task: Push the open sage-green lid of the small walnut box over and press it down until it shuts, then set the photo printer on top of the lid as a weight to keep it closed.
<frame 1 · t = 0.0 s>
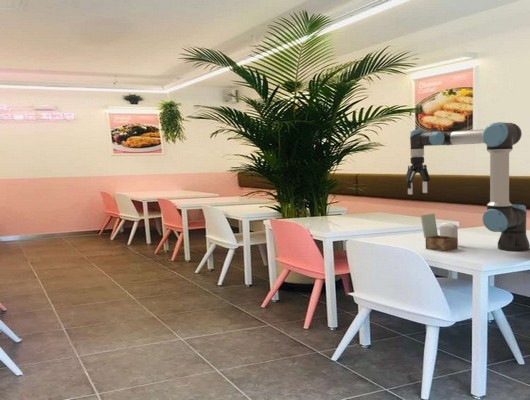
hand: (417, 193, 292), 28 cm above the table, fingers open, 13 cm apart
box carcass: (441, 248, 269), on the table
lid: (429, 225, 274), point 12 cm above the table, hinge at 100.0°
photo printer: (448, 245, 280), on the table
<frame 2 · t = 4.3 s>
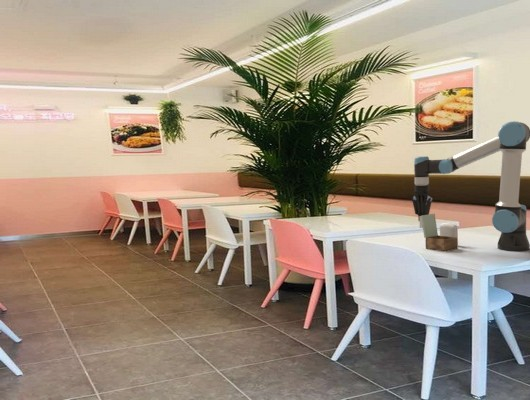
hand: (422, 227, 278), 10 cm above the table, fingers closed
lid: (429, 225, 274), point 12 cm above the table, hinge at 99.4°, touching gripper
everything else where it was.
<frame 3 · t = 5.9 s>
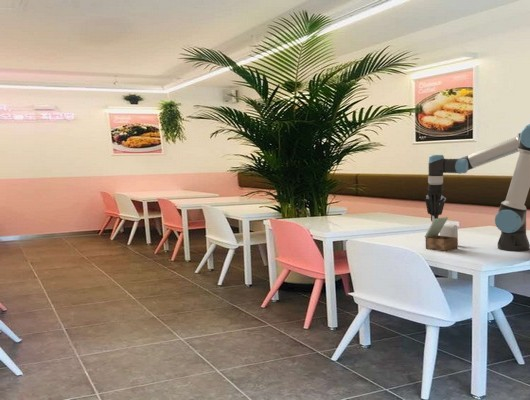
hand: (434, 227, 272), 11 cm above the table, fingers closed
lid: (436, 227, 271), point 11 cm above the table, hinge at 57.6°, touching gripper
everything else where it was.
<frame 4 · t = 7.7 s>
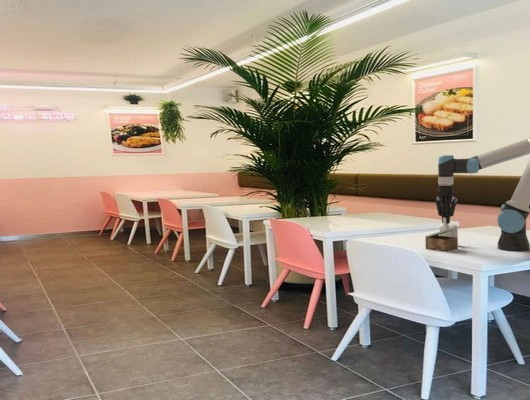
hand: (445, 229, 266), 11 cm above the table, fingers closed
lid: (440, 232, 269), point 8 cm above the table, hinge at 20.5°, touching box carcass, gripper
everything else where it was.
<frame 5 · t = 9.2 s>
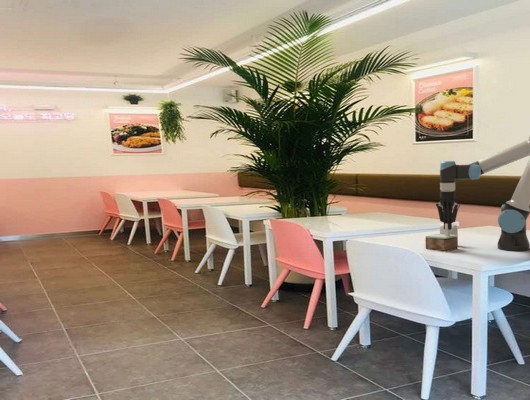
hand: (447, 235, 266), 7 cm above the table, fingers closed
lid: (441, 236, 269), point 7 cm above the table, hinge at 2.6°, touching box carcass, gripper
everything else where it was.
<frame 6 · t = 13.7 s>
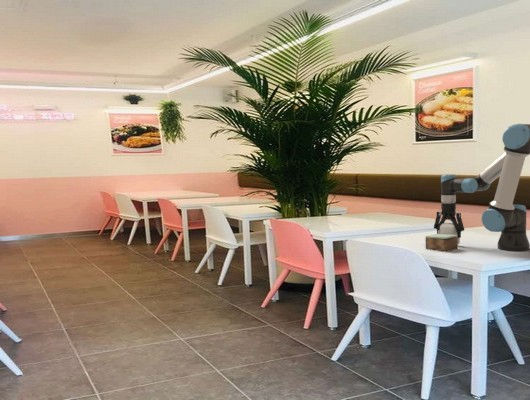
hand: (448, 242, 280), 1 cm above the table, fingers closed on photo printer, 10 cm apart
lid: (441, 236, 269), point 7 cm above the table, hinge at 2.6°
photo printer: (448, 245, 280), on the table, touching gripper
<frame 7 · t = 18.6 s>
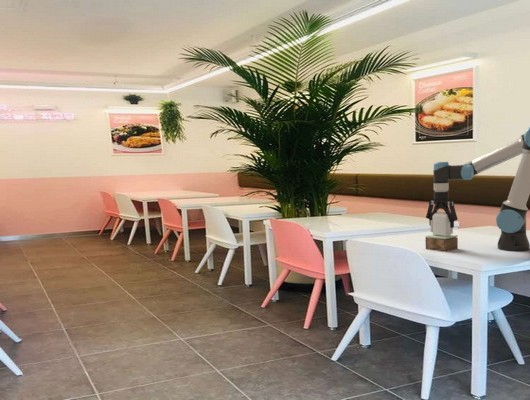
hand: (441, 232, 269), 9 cm above the table, fingers closed on photo printer, 10 cm apart
lid: (441, 236, 269), point 7 cm above the table, hinge at 2.0°, touching photo printer
photo printer: (441, 235, 269), point 7 cm above the table, touching gripper, lid
when the fingers open (9 cm above the table, at t = 18.8 s): photo printer stays where it is, resting on lid.
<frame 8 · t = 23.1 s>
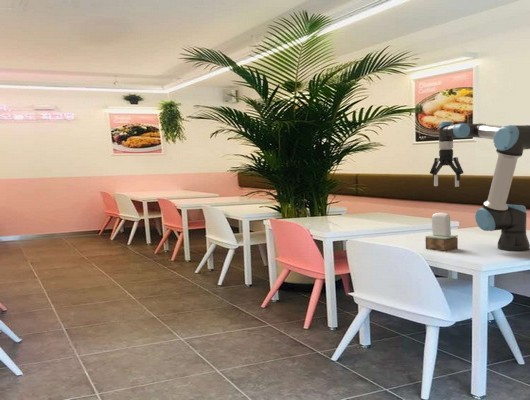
hand: (446, 186, 290), 32 cm above the table, fingers open, 13 cm apart
photo printer: (441, 236, 269), point 7 cm above the table, touching lid
everything else where it was.
at the end: lid at +2° (first picture: +100°); photo printer inside the target area on the box carcass (0.0 cm from its centre), point 6.8 cm above the box carcass's base; photo printer tilted 2° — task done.
